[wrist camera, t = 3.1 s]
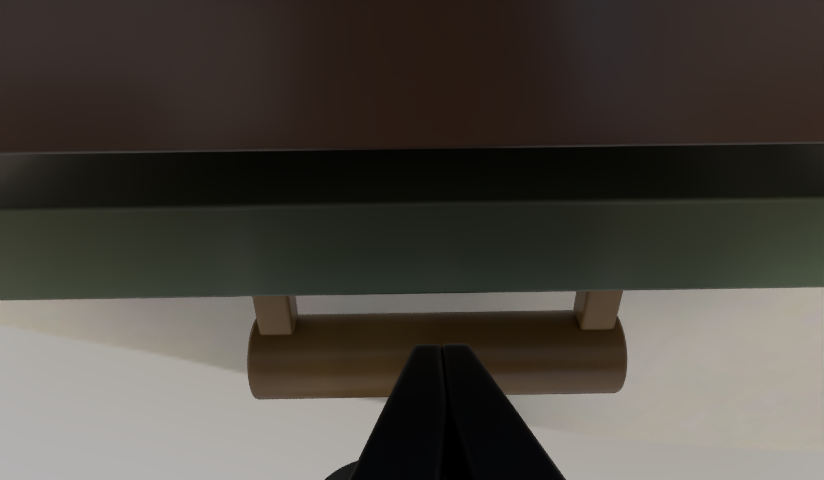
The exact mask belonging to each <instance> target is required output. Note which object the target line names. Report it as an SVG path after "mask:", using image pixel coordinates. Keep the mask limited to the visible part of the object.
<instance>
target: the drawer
mask: <svg viewBox="0 0 824 480" xmlns="http://www.w3.org/2000/svg"><path fill="white" fill-rule="evenodd" d="M798 287H824V144H754V145H680V146H607V147H533V148H459V149H385V150H312V151H238V152H164V153H90V154H17V155H0V300H54V299H116V298H178V297H240V296H252V298H253V303H254V308H255V313H256V319H255V321H254V323H253V326H252V329H251V332H250V337H249V344H248V358H247V366H248V379H249V385H250V389H251V392H252V394H253V396H254V397H255V398H257V399H304V398H363V397H389V396H390V394H391V392H392V390H393V388H394V385H395V383H396V381H397V379H398V377H399V375H400V373H401V371H402V369H403V367H404V365H405V363H406V361H407V359H408V357H409V355H410V353H411V351H412V349H413V347H414V346H415V345H417V344H438V345H440V347H441V348H442V346H443V345H444V344H462V343H465V344H468V345H469V346H470V347H471V348H472V350H473V351H474V352H475V354H476V355H477V357H478V358H479V359H480V361H481V362H482V364H483V365H484V366H485V368H486V369H487V371H488V372H489V373H490V375H491V376H492V377H493V379H494V380H495V382H496V383H497V384H498V386H499V387H500V389H501V390H502V391H503V393H504V394H505V395H530V394H586V393H616V392H618V391H620V390H621V388H622V387H623V384H624V381H625V377H626V371H627V348H626V340H625V335H624V331H623V328H622V325H621V322H620V320H619V318H618V316H617V313H618V309H619V305H620V300H621V296H622V292H623V290H674V289H736V288H798ZM550 291H577V292H576V298H575V303H574V310H550V311H489V312H428V313H368V314H307V315H298V310H297V304H296V297H295V296H302V295H364V294H426V293H488V292H550Z"/></svg>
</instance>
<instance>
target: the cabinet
mask: <svg viewBox="0 0 824 480" xmlns="http://www.w3.org/2000/svg"><path fill="white" fill-rule="evenodd" d="M754 144H824V0H0V155H17V154H90V153H164V152H238V151H312V150H385V149H459V148H533V147H607V146H680V145H754Z"/></svg>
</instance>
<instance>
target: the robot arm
mask: <svg viewBox="0 0 824 480" xmlns="http://www.w3.org/2000/svg"><path fill="white" fill-rule="evenodd" d="M444 477H445V480H566V479H565V478H564V477H563V475H562V474H561V472H560V471H559V470H558V468H557V467H556V465H555V464H554V462H553V461H552V460H551V458H550V457H549V456H548V454H547V453H546V451H545V450H544V449H543V447H542V446H541V444H540V443H539V442H538V440H537V439H536V437H535V436H534V435H533V433H532V432H531V430H530V429H529V428H528V426H527V425H526V423H525V422H524V421H523V419H522V418H521V417H520V415H519V414H518V412H517V411H516V410H515V408H514V407H513V405H512V404H511V403H510V401H509V400H508V398H507V397H506V396H505V394H504V393H503V391H502V390H501V389H500V387H499V386H498V384H497V383H496V382H495V380H494V379H493V377H492V376H491V375H490V373H489V372H488V371H487V369H486V368H485V366H484V365H483V364H482V362H481V361H480V359H479V358H478V357H477V355H476V354H475V352H474V351H473V350H472V348H471V347H470V346H469V345H468V344H465V343H462V344H444V345H443V346H442V348H441V347H440V345H438V344H417V345H415V346H414V347H413V349H412V351H411V353H410V355H409V357H408V359H407V361H406V363H405V365H404V367H403V369H402V371H401V373H400V375H399V377H398V379H397V381H396V383H395V385H394V388H393V390H392V392H391V394H390V396H389V398H388V400H387V402H386V404H385V406H384V408H383V410H382V412H381V414H380V416H379V418H378V420H377V423H376V425H375V427H374V429H373V431H372V433H371V435H370V437H369V439H368V441H367V443H366V445H365V447H364V449H363V451H362V453H361V455H360V457H359V460H358V462H357V464H356V466H355V468H354V470H353V472H352V474H351V476H350V478H349V480H444Z"/></svg>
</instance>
